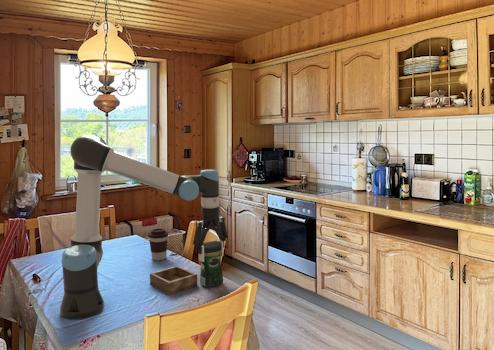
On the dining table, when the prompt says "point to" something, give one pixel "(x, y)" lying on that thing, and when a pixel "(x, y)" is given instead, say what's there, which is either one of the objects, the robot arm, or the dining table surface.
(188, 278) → the walnut caddy
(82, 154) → the robot arm
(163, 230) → the coffee cup
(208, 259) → the coffee jar
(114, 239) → the dining table surface
